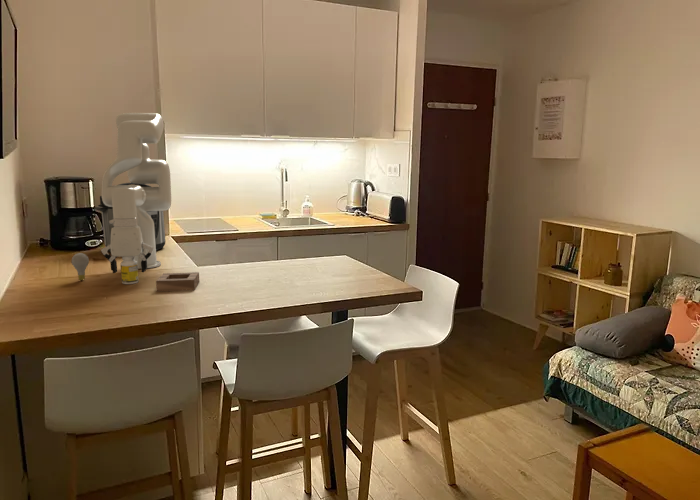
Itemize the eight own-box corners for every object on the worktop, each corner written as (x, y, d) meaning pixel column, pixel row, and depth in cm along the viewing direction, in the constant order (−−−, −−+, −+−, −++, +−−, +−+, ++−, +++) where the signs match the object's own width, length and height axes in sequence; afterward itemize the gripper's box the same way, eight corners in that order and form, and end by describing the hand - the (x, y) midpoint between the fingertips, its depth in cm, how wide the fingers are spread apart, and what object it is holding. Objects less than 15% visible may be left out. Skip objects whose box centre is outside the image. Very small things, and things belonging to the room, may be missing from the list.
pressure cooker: (94, 256, 245) (88, 184, 240) (108, 246, 273) (102, 181, 267) (165, 253, 251) (160, 183, 246) (171, 244, 279) (167, 180, 273)
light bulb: (83, 282, 194) (81, 254, 192) (70, 282, 195) (67, 254, 193) (93, 279, 199) (91, 252, 197) (80, 278, 200) (77, 251, 199)
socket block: (164, 283, 192) (163, 273, 191) (199, 282, 194) (198, 272, 193) (156, 291, 180) (156, 281, 180) (194, 290, 182) (193, 279, 181)
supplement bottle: (119, 282, 193) (117, 255, 192) (134, 280, 197) (132, 253, 196) (126, 285, 190) (124, 257, 188) (141, 282, 194) (139, 255, 192)
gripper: (95, 225, 185) (100, 275, 188) (149, 223, 187) (152, 273, 190) (102, 222, 193) (106, 270, 195) (154, 221, 195) (157, 269, 198)
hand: (129, 271), depth 193 cm, fingers open, 9 cm apart
